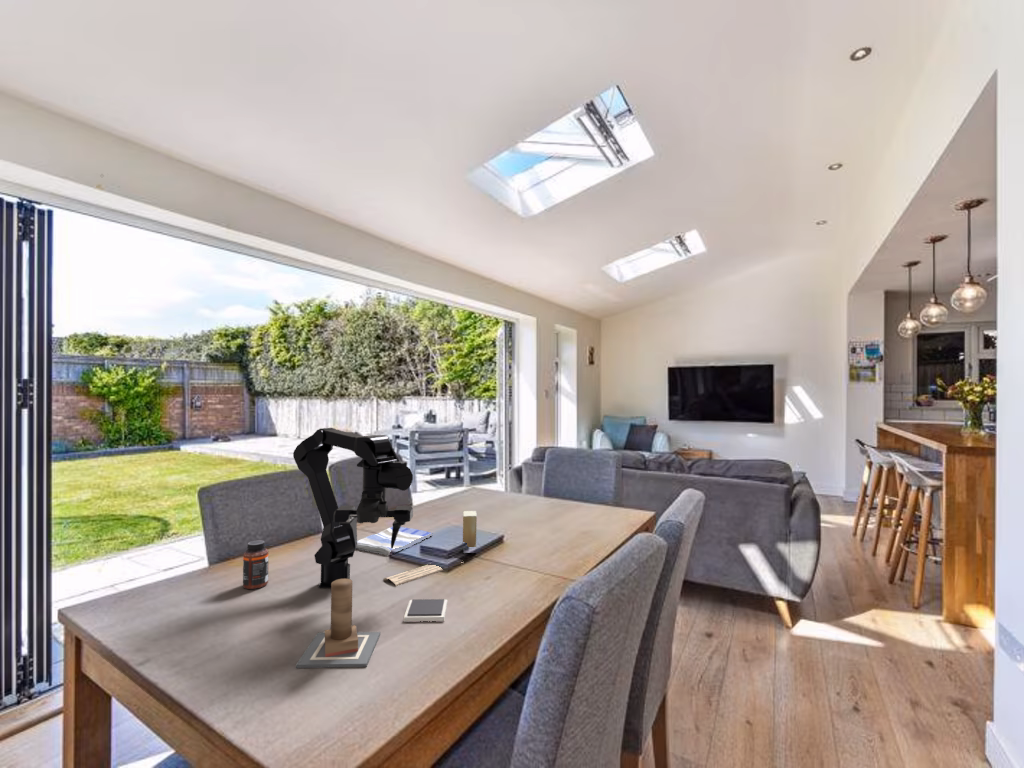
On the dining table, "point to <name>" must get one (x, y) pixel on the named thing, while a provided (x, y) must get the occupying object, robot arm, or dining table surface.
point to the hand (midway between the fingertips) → (373, 547)
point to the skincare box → (469, 528)
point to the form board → (360, 658)
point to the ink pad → (426, 610)
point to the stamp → (341, 620)
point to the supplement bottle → (255, 565)
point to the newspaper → (414, 574)
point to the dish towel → (389, 540)
